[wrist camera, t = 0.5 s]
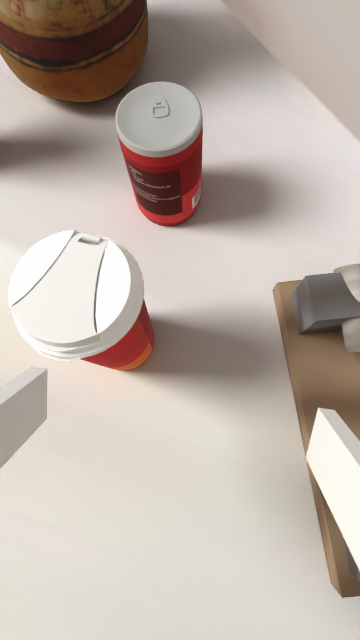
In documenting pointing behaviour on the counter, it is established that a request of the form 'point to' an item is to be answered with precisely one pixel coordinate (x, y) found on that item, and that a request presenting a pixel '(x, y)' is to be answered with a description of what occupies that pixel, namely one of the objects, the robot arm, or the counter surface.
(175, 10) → the counter surface
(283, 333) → the shaft stand
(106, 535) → the counter surface
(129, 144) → the canned food
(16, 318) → the coffee cup
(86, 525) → the counter surface
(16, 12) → the ceramic pitcher
